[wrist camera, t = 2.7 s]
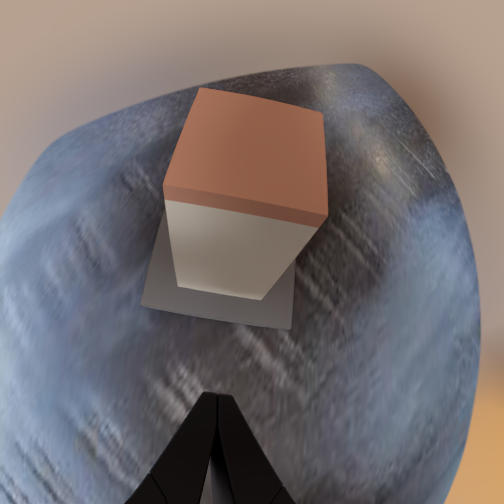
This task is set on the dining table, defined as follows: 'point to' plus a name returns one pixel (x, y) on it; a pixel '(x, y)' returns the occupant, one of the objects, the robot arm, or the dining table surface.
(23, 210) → the dining table surface
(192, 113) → the cream block
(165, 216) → the charcoal mat
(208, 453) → the robot arm
